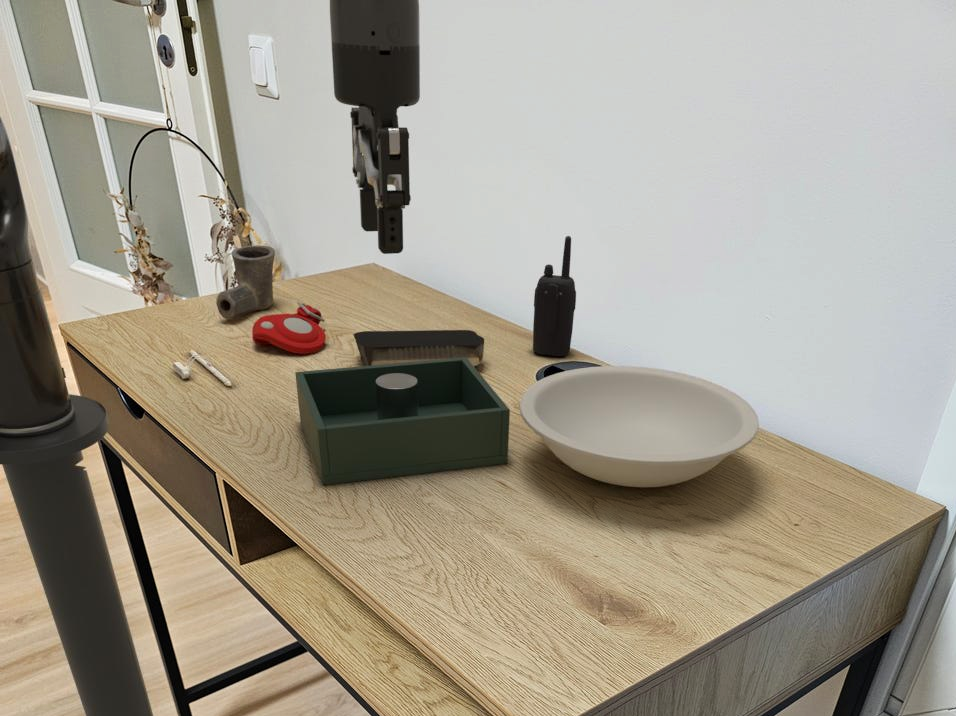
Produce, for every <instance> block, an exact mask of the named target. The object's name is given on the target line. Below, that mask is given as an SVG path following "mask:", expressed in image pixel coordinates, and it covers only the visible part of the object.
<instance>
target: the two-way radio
mask: <svg viewBox="0 0 956 716" xmlns="http://www.w3.org/2000/svg"><path fill="white" fill-rule="evenodd" d="M571 253H572V237H571V236H570V235H566V236H565V238H564V245H563V255H562V263H561V275H555V274H554V266H553V265H552V264H546V265H545V266H544V269H543V275H541V277H539V279H538V281H537V283H536V287H535V288H534V296H533V297H534V299H533V309H534V310H533V329H532V351H533V352H535V353H536V354H537V355H545V356H554V357H561V358H562V357H564V356H568V355H569V354H570V351H571V344H572V343H571V342H572V335H573V329H574V328H573V327H574V318H575V317H574V316H575V310H576V305H577V291H576V285H575V284H576V283H575V280H574V278H573V277H572V276H570V270H571V258H572V257H571V255H572V254H571Z"/></svg>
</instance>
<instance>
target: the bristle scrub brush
mask: <svg viewBox="0 0 956 716" xmlns="http://www.w3.org/2000/svg"><path fill="white" fill-rule="evenodd" d="M353 338H354V339H355V343H356V347H357V350H358V352H359V356H360V360H361V363H362V364H363V366H371V365H383V364H395V363H406V362H418V361H429V360H441V359H452V358H464V357H466V358H467V359H468V360H469V361H470V362H471V364H472V365H473V366H474V367H477V366H478V365H480V364H481V363H482V362H483V359H484V351H485V338H484V337H483V336H481V335H479V334H477V332H476V331H474V330H468V329H442V330H440V329H437V330H436V329H434V330H433V329H432V330H431V329H429V330H428V329H427V330H364V331H358V332H355V333H353Z"/></svg>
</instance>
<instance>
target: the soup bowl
mask: <svg viewBox="0 0 956 716" xmlns="http://www.w3.org/2000/svg"><path fill="white" fill-rule="evenodd" d="M518 408H519V414H520V416H521V418H522V420H523V421H524V423H525V424H526V425H527V426H528V428H529V429H530V430H532V431H533V432H534V433H535V434H537V435H538V436H540V437H541V440H542V441H543V442H544V443H545V445H546V446H547V448H548V449H549V450H550V451H551V452H552V453H553V454H554V456H555V457H557V459H559V460H560V461H561V462H562V463H564V464H565V465H567V466H568V467H570V468H571V469H572V470H574V471H576V472H577V473H579V474H582V475H584V476H586V477H588V478H591V479H592V480H596V481H599V482H602V483H606V484H610V485H615V486H622V487H631V488H658V487H659V488H660V487H667V486H672V485H676V484H680V483H683V482H687V481H690V480H692V479H695V478H697V477H699V476H701V475H703V474H705V473H707V472H709V471H710V470H712V469H713V468H714V467H716V466H717V465H718V464H720V462H722V461H723V460H725V458H727V457H728V456H731V455H734V454H736V453H737V452H740V451H741V450H743V449H745V448H746V447H748V445H749V444H751V443H752V442H753V440H754V439H755V438H756V436H757V434H758V432H759V427H760V423H759V422H760V421H759V417H758V415H757V412H756V410H755V409H754V408H753V406H752V405H750V403H748V401H747V400H746V399H744V398H743V397H741V396H740V395H738V394H737V393H735V392H733V391H732V390H730V389H729V388H726V387H724V386H722V385H720V384H717V383H714V382H712V381H709V380H706V379H704V378H701V377H697V376H693V375H691V374H686V373H682V372H677V371H672V370H667V369H661V368H655V367H645V366H632V365H601V366H600V365H599V366H589V367H582V368H581V367H579V368H575V369H569V370H564V371H561V372H557V373H554V374H551V375H548V376H546V377H545V376H544V377H543V378H541V379H539V380H537V381H535V382H534V383H532V384H531V385H530V386H529V387H527V388H526V390H525V391H523V393H522V395H521V396H520V400H519V405H518Z"/></svg>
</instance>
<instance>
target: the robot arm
mask: <svg viewBox="0 0 956 716" xmlns="http://www.w3.org/2000/svg"><path fill="white" fill-rule="evenodd" d="M329 23H330V24H329V25H330V40H331V41H330V42H331V57H332V58H331V59H332V75H333V76H332V77H333V78H332V79H333V94H334V98H335V100H336V101H337V102H339V103H341V104H343V105H348V106H353V107H351V109H350V110H351V111H350V116H349V117H350V119H351V143H352V144H351V145H352V167H351V168H352V169H351V170H352V174H353V176H354V178H355V184H356V185H357V189H359V207H360V209H359V211H360V227H361V229H362V230H364V232H377V245H378V246H377V247H378V249H379V252H380V253H381V254H383V255H393V254H401V253H402V252H403V251H404V218H403V217H404V216H403V215H404V214H403V211H404V209H405V208H406V206H410V203H411V199H412V198H411V189H410V187H411V185H410V150H409V149H410V145H409V140H410V132H409V130H408V127H399V117H398V109H399V108H400V107H412V106H415V105H417V104H418V103H419V101H420V97H421V68H420V67H421V63H420V62H421V60H420V58H421V57H420V55H421V54H420V53H421V52H420V46H421V45H420V3H419V0H329ZM388 186H393V187H394V188H395V189H394V190H391V189H390V190H388V188H389V187H388ZM23 195H24V194H23V191H22V186H21V182H20V177H19V173H18V169H17V164H16V160H15V156H14V151H13V148H12V145H11V142H10V138H9V135H8V132H7V129H6V126H5V124H4V121H3V119H2V117H1V116H0V436H1V437H8V438H24V437H33V436H39V435H44V434H48V433H51V432H54V431H57V430H59V429H62V428H64V427H66V426H67V425H69V424H70V423H71V422H72V421H73V420H74V418H75V412H74V408H73V405H72V403H71V399H70V396H69V394H70V393H69V390H68V386H67V382H66V378H67V376H66V372H65V369H64V367H62V364H61V360H60V356H59V352H58V349H57V346H56V342H55V337H54V334H53V330H52V327H51V323H50V319H49V315H48V312H47V307H46V304H45V300H44V297H43V292H42V289H41V286H40V282H39V278H38V274H37V270H36V267H35V264H34V260H33V256H32V252H31V249H30V243H29V220H28V213H27V208H26V204H25V199H24V196H23Z"/></svg>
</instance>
